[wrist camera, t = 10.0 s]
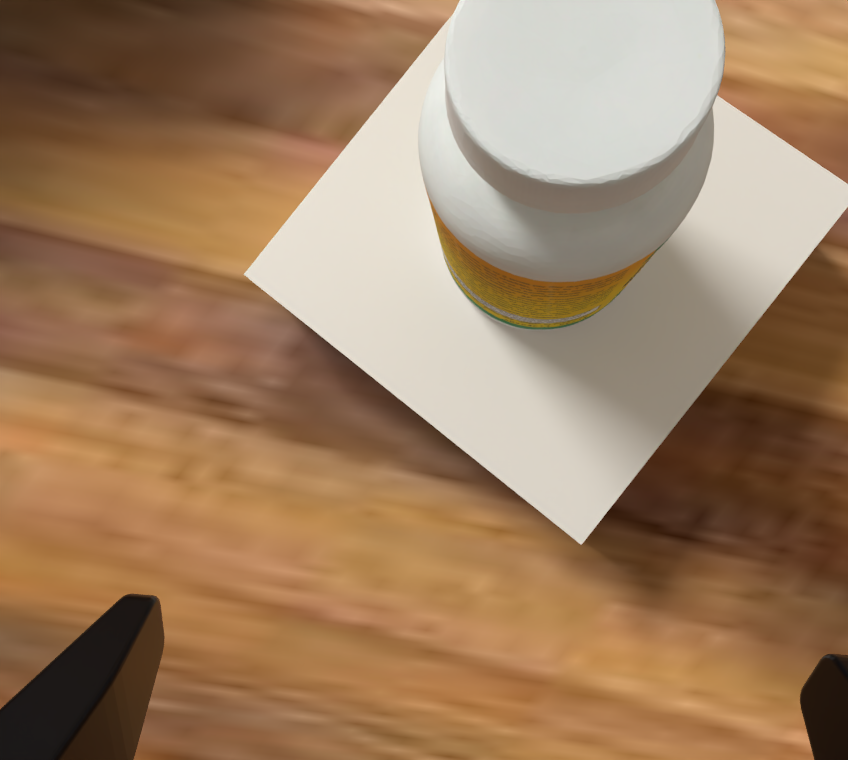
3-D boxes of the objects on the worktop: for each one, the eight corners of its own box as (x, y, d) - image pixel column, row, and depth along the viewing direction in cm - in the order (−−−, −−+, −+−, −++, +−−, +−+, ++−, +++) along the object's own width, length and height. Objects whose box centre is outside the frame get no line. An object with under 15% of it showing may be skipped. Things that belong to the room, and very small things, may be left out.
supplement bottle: (449, 142, 20) (411, -130, 11) (643, 149, 20) (786, -131, 10) (435, 330, 20) (380, 221, 10) (632, 342, 19) (772, 240, 10)
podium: (801, 231, 22) (859, 192, 19) (566, 529, 22) (581, 545, 19) (501, 22, 24) (503, -50, 20) (279, 299, 24) (243, 274, 20)
